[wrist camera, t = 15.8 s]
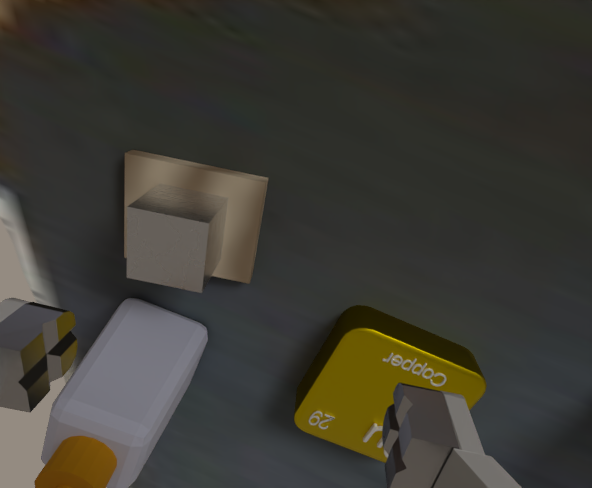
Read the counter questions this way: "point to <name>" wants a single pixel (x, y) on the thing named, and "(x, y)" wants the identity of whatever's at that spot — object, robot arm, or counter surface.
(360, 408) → the element tile
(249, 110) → the counter surface
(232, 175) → the birch base
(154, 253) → the upright gray block
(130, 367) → the soap bottle
